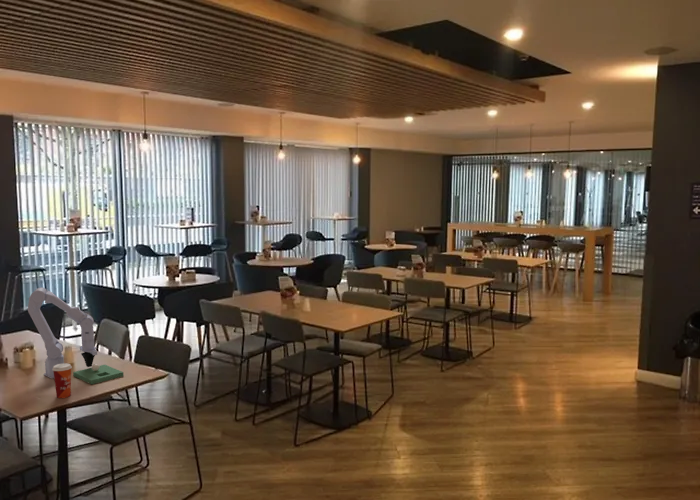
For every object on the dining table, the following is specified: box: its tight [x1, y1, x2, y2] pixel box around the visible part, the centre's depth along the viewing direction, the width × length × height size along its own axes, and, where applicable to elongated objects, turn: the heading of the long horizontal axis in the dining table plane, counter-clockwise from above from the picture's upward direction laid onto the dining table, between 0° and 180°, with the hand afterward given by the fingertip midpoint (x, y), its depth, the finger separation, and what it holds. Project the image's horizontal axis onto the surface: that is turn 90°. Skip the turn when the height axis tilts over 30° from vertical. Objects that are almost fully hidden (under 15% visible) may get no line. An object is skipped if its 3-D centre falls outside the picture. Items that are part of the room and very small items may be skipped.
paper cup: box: [52, 362, 73, 399], centre depth 258 cm, size 8×8×14 cm
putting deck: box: [72, 364, 124, 385], centre depth 286 cm, size 19×16×2 cm
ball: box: [91, 363, 100, 371], centre depth 287 cm, size 4×4×4 cm
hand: (89, 366), depth 292 cm, fingers closed
